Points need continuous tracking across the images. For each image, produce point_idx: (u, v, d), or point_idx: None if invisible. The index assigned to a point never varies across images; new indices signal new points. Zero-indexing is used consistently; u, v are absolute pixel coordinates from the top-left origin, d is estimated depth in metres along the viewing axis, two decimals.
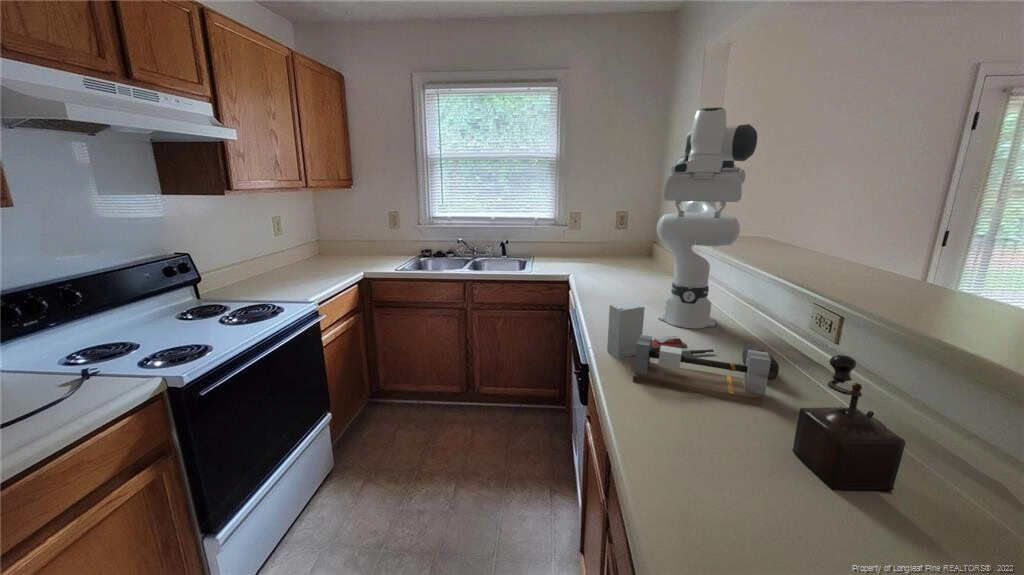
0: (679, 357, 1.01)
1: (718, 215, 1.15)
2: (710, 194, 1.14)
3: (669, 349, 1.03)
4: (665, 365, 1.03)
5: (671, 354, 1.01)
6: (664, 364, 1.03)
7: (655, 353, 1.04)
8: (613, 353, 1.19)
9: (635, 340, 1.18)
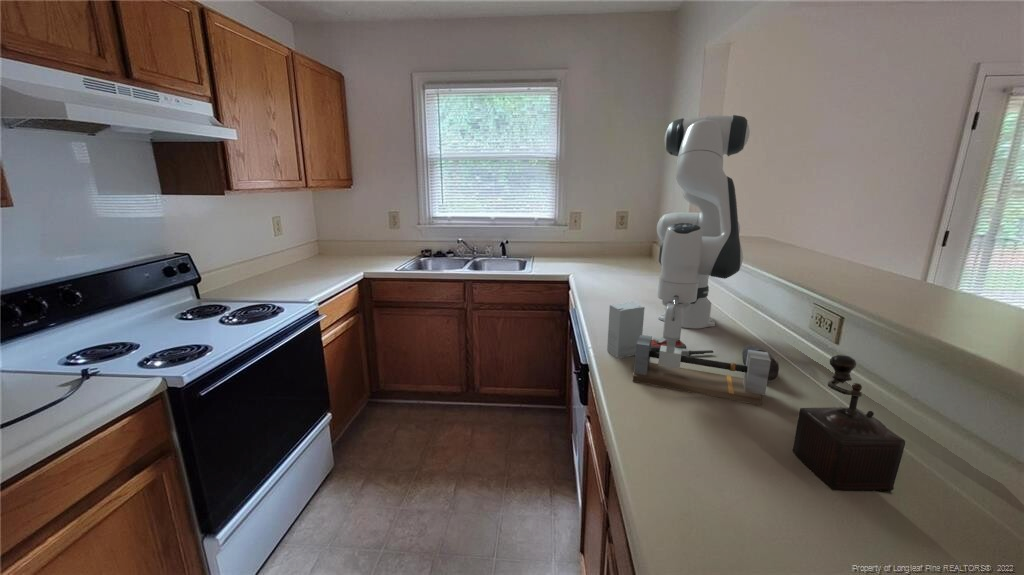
0: (679, 357, 1.01)
1: (666, 349, 0.98)
2: None
3: None
4: (665, 365, 1.03)
5: (671, 354, 1.01)
6: (664, 364, 1.03)
7: (655, 353, 1.04)
8: (613, 353, 1.19)
9: (635, 340, 1.18)
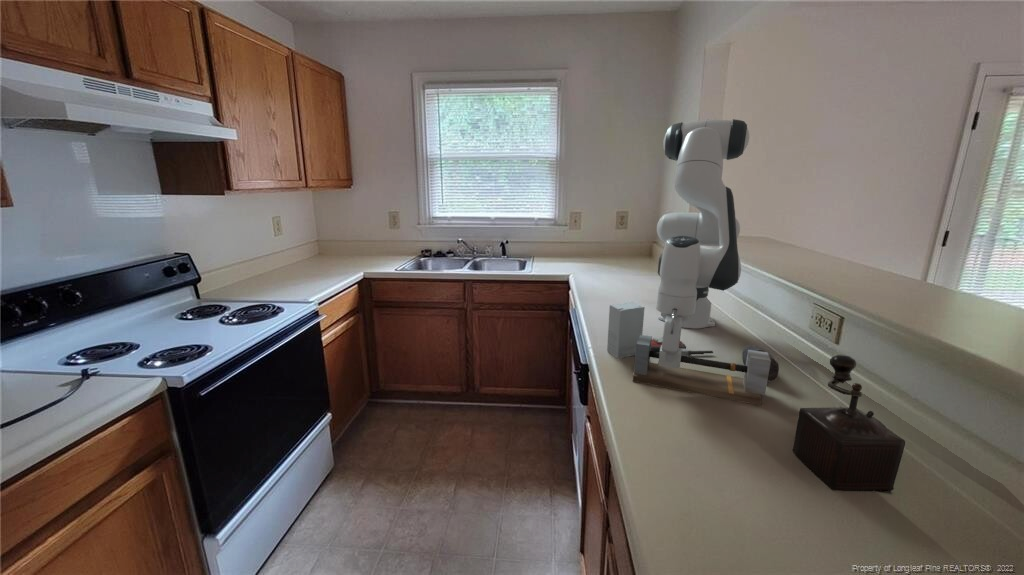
0: (679, 357, 1.01)
1: None
2: None
3: None
4: (665, 365, 1.03)
5: None
6: (664, 364, 1.03)
7: (655, 353, 1.04)
8: (613, 353, 1.19)
9: (635, 340, 1.18)
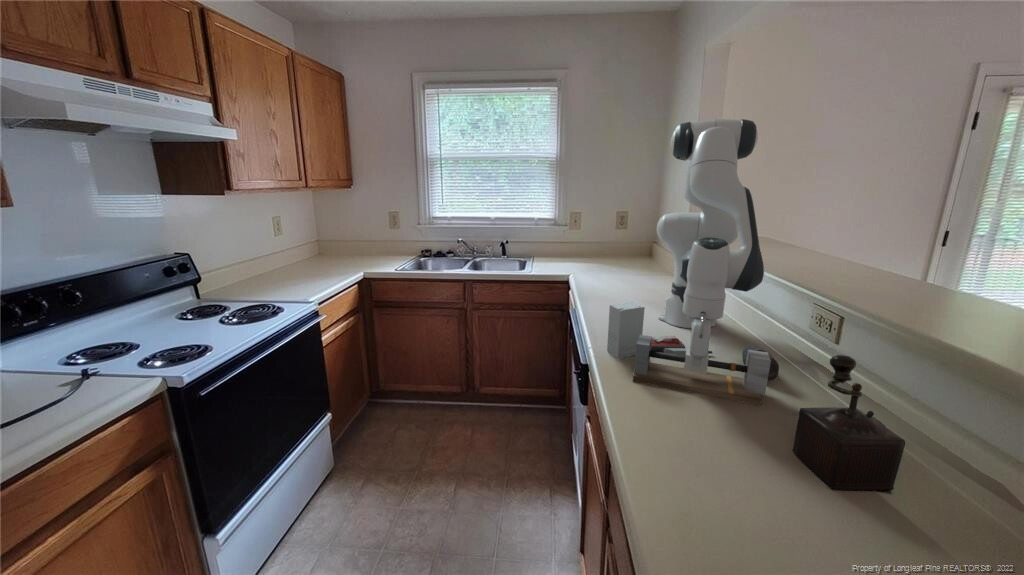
0: (706, 361, 0.98)
1: (692, 362, 0.99)
2: None
3: None
4: (691, 369, 1.00)
5: None
6: (690, 368, 1.00)
7: (655, 353, 1.04)
8: (613, 353, 1.19)
9: (635, 340, 1.18)
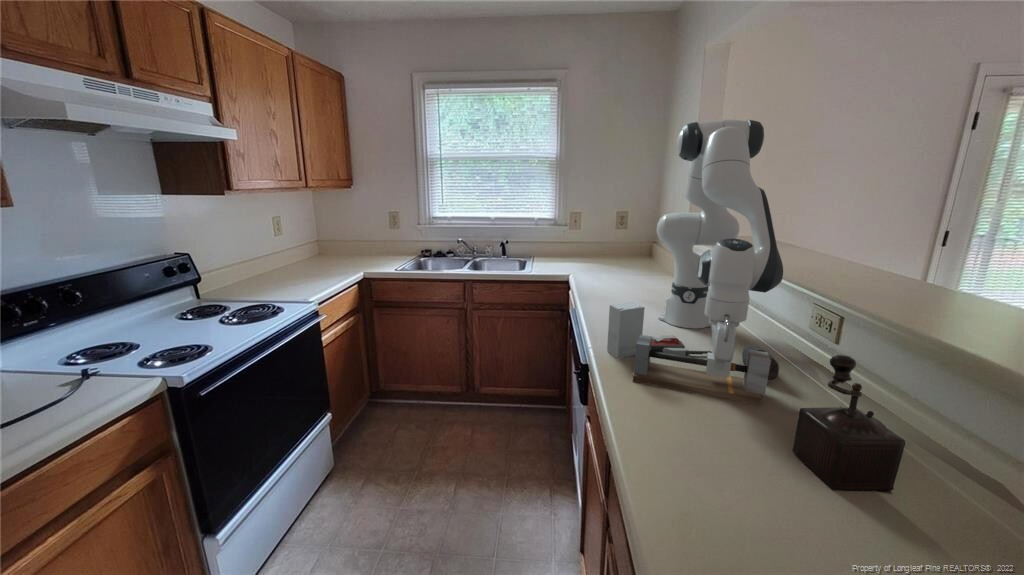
0: (729, 365, 0.96)
1: (715, 365, 0.97)
2: (713, 341, 0.96)
3: None
4: (713, 373, 0.98)
5: None
6: (712, 372, 0.98)
7: (655, 353, 1.04)
8: (613, 353, 1.19)
9: (635, 340, 1.18)
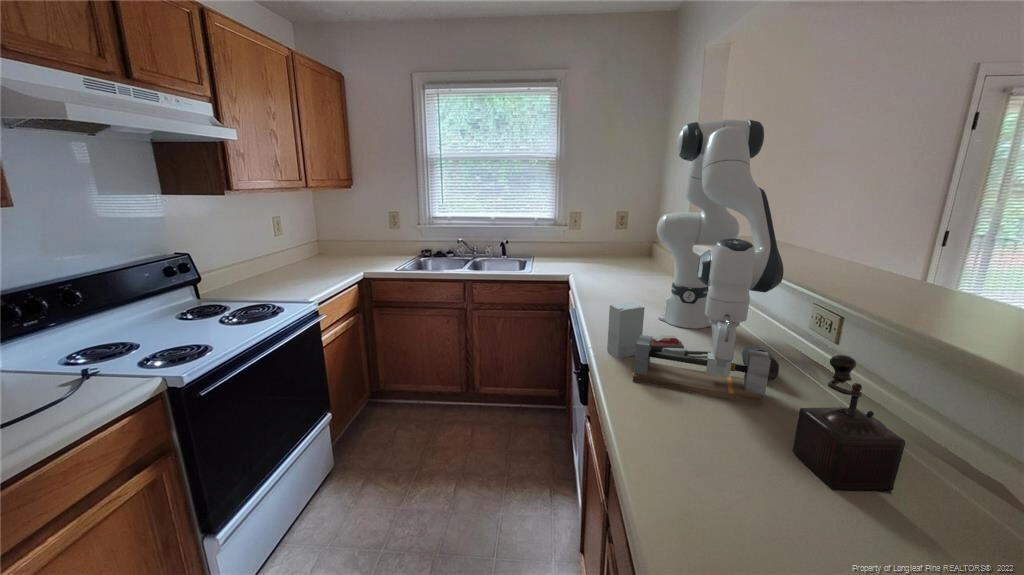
0: (729, 365, 0.96)
1: (715, 369, 0.95)
2: (713, 341, 0.96)
3: None
4: (714, 373, 0.98)
5: None
6: (713, 372, 0.98)
7: (655, 353, 1.04)
8: (613, 353, 1.19)
9: (635, 340, 1.18)
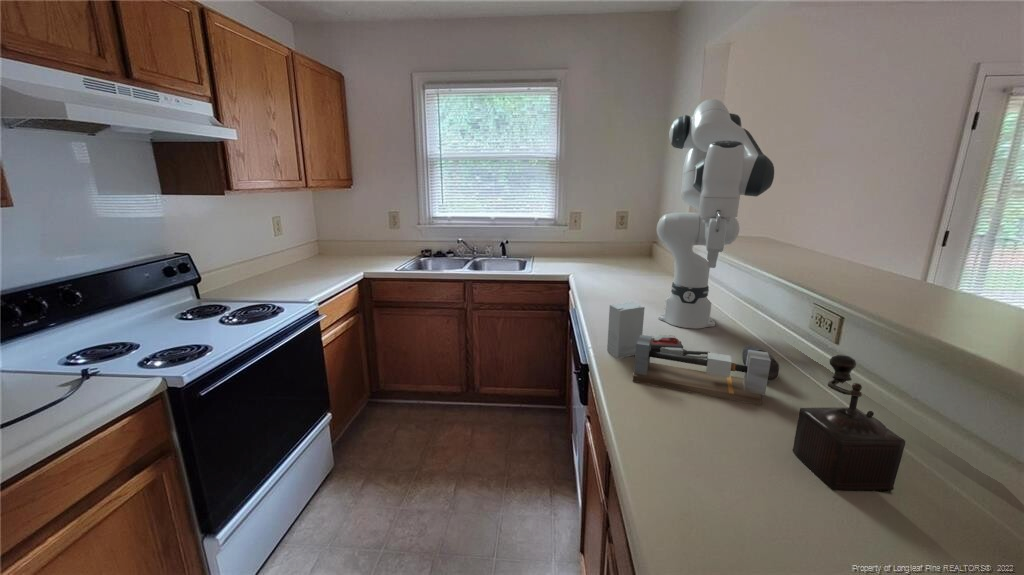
0: (729, 365, 0.96)
1: (707, 264, 1.02)
2: (706, 239, 1.03)
3: (717, 356, 0.99)
4: (714, 373, 0.98)
5: (721, 362, 0.97)
6: (713, 372, 0.98)
7: (655, 353, 1.04)
8: (613, 353, 1.19)
9: (635, 340, 1.18)
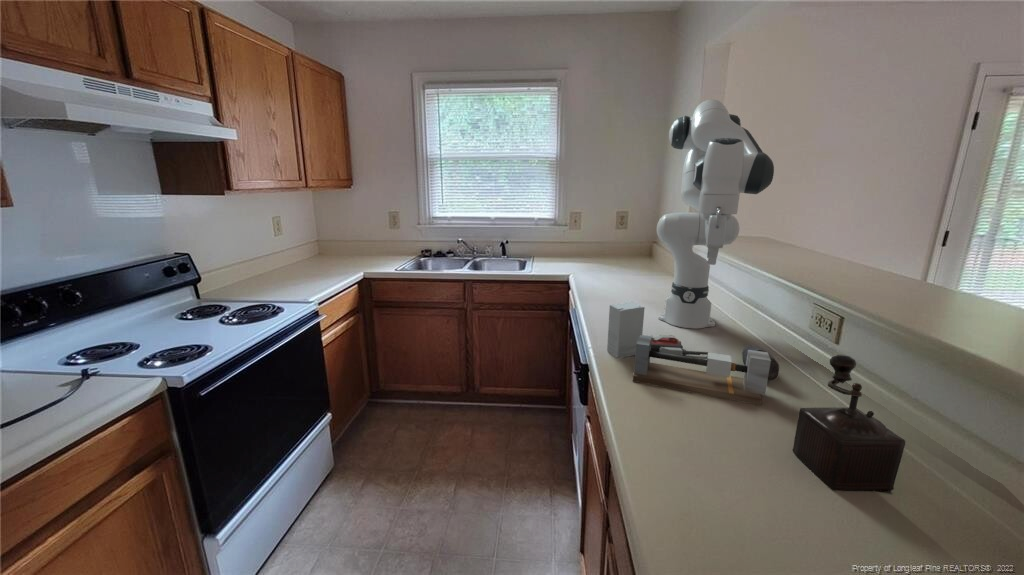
0: (729, 365, 0.96)
1: (707, 261, 1.02)
2: (706, 237, 1.03)
3: (717, 356, 0.99)
4: (714, 373, 0.98)
5: (721, 362, 0.97)
6: (713, 372, 0.98)
7: (655, 353, 1.04)
8: (613, 353, 1.19)
9: (635, 340, 1.18)
